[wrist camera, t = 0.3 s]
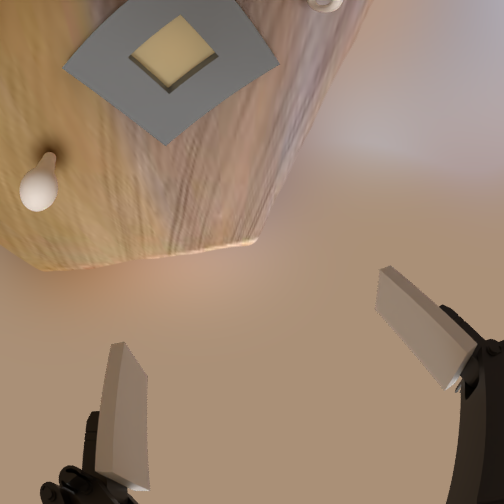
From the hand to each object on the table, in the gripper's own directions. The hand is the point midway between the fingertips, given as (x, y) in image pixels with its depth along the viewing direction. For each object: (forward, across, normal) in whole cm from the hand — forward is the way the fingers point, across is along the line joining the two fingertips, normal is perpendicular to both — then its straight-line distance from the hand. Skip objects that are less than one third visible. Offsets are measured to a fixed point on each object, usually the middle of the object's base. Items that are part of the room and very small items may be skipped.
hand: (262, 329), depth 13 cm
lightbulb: (+32, -24, +13) cm, 41 cm away
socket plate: (+27, -1, +21) cm, 34 cm away
